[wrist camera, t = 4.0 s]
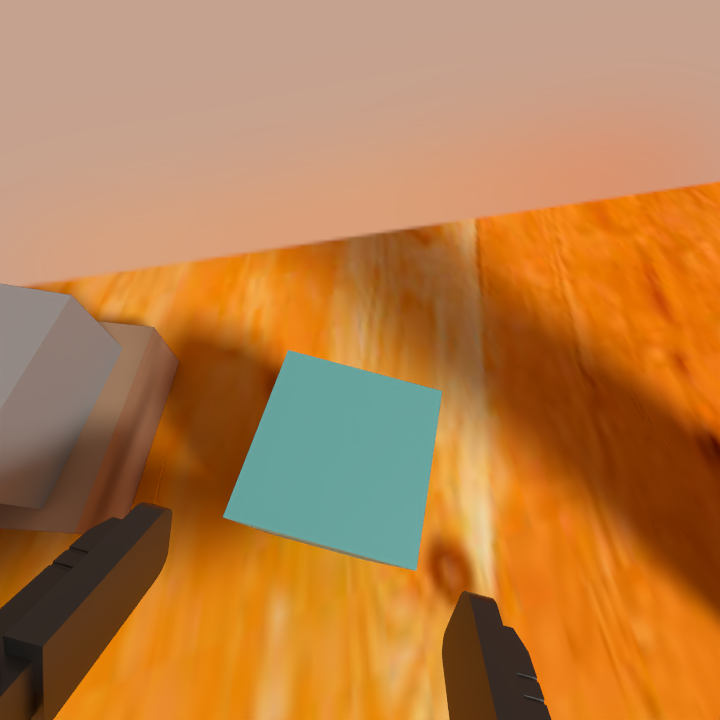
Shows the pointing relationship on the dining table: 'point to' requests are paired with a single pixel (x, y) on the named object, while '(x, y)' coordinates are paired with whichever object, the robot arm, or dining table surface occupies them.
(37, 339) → the tower top
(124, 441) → the tower base
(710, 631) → the dining table surface
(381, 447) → the teal column
